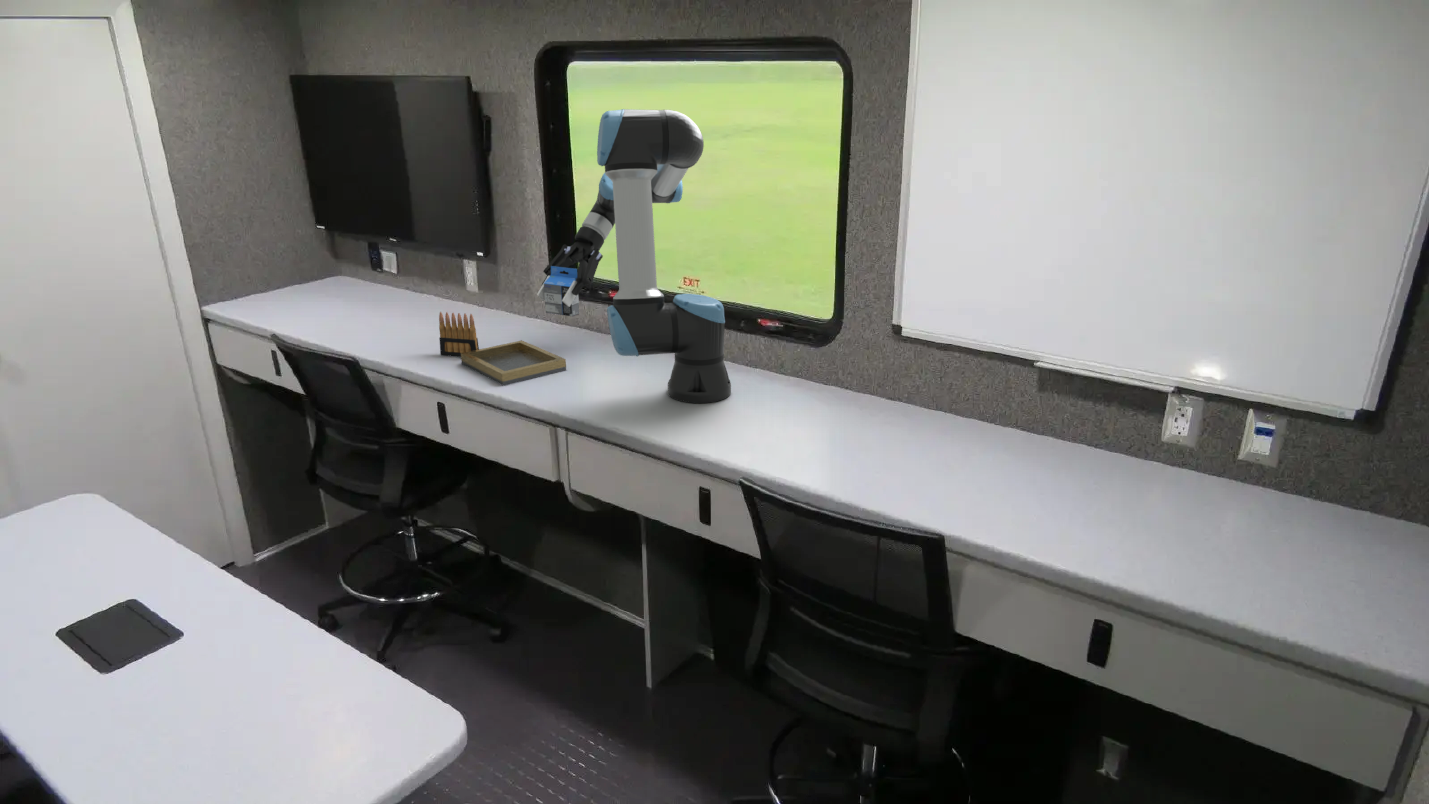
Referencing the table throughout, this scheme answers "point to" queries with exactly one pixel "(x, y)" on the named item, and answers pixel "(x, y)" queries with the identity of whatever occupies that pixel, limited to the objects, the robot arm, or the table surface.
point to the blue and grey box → (560, 292)
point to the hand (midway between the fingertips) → (552, 300)
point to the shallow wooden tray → (513, 362)
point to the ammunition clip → (457, 335)
